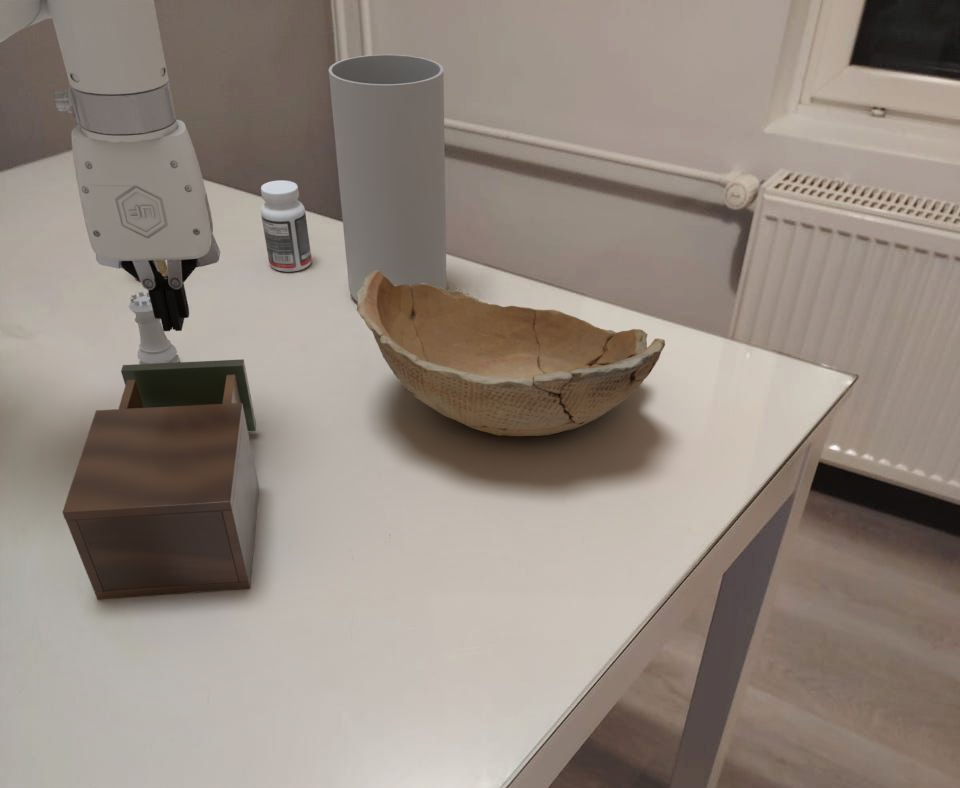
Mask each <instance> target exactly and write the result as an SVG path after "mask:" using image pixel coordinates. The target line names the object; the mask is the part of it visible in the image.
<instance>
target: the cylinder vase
mask: <svg viewBox="0 0 960 788" xmlns="http://www.w3.org/2000/svg"><path fill="white" fill-rule="evenodd" d="M444 74H445V73H444V66H443V65H441V64H440V63H439V62H437V61H434V60H432V59H429V58H426V57H420V56H414V55H408V54H407V55H406V54H369V55H360V56H354V57H349V58H345V59H342V60H339V61H336V62H334V63H332V64H331V65H330V66H329V67H328V79H329V89H330V91H329V92H330V101H331V109H332V119H333V121H332V122H333V132H334V143H335V154H336V164H337V165H336V166H337V175H338V186H339V196H340V206H341V216H342V217H341V218H342V227H343V238H344V248H345V249H344V250H345V260H346V271H347V282H348V291H349V293H350V296H352V298H353V300H355V301H356V302H357V303H358V299H357V292H358V291H359V289H360V286H361V284H362V283H364V279H365V277H366V276H367V275H368V274H369V273H371V272H373V271H375V270H379V271H380V272H381V273H382V275H383V276H384V277H386V278H388V280H389V281H390V282H391V283H392V284H393V285H402V284H405V285H409V286H411V285H416V284H421V283H428V284H429V285H431V286H434V287H439V288H444V289H447V282H448V281H447V225H446V224H447V223H446V222H447V219H446V218H447V217H446V215H447V214H446V213H447V212H446V156H445V155H446V151H445V89H444V88H445V85H444V84H445V83H444V82H445V78H444V77H445V76H444Z"/></svg>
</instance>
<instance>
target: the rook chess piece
mask: <svg viewBox="0 0 960 788" xmlns="http://www.w3.org/2000/svg"><path fill="white" fill-rule="evenodd" d="M137 294H138V296H137ZM130 296H131V297H130V298H129V299H130V303H129V305H128V308H129V310H130V311H131V312H132V313H134V315H135V318H134V322H135V323H136V324H137V326H138V331H139V338H140V339H139V340H140V341H139V345H138V350H137V358H138V360H139V362H138V364H156V363H177V362H179V361H180V357H179V355H178V354H177V353H178V350H177V348H176V346H175V345H174V344H173V343H172V342H171V340H170V339H168V337H167V335H166V333H165V331H164V330H163V326H162V322H161V319H155V317H154V313H153V309H152V304H151V300H150V296H149V292H148V290H147V291H146V295H145V294H144V291H138V292H137V293H132V294H131V295H130Z"/></svg>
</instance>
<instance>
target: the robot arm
mask: <svg viewBox="0 0 960 788" xmlns="http://www.w3.org/2000/svg"><path fill="white" fill-rule="evenodd" d="M49 19H51V20H52V22H53V27H54V32H55V34H56V38H57V41H58V45H59V50H60V53H61V57H62V60H63V64H64V68H65V71H66V76H67V79H68V83H69V85H68V87H67V89H63V91H54V93H53V99H54V104H55V107H56V110H57V111H58V112H67V113H68V114H72V116H73V117H74V118H75V121H76V125H75V127H74V128H72V130H71V131H70V135H71V149H72V157H73V166H74V172H75V179H76V183H77V189H78V195H79V199H80V200H79V201H80V204H81V210H82V214H83V219H84V224H85V228H86V232H87V236H88V241H89V243H90V246H91V248H92V251H93V252H94V254H95V260H96V262H97V264H98V265H100V266H104V267H110V268H115V269H122V270H124V271H125V272H127V274H129V275H130V276H132V277H133V278H134V279H136V280H137V281H139V282H140V284H141V286H142V287H143V289H145V290H147V291H148V292H149V296H150V300H151V304H152V309H153V313H154V317H155V319H160V322H161V326H162V328H163V331H164V332H171V331H172V330H174V331H175V332H181V331H182V330H183V325H184V322H185V319H189V318H190V307H189V303H188V298H187V292H186V287H185V284H184V283H185V282H186V281H187V279H188V278H189V277H190V276H191V275H192V274H193V272H194V271H195V269H196V268H199V267H200V268H202V267H205V266H206V267H207V266H209V265H213V264H217V263H219V261H220V256H221V250H220V248H219V245H218V243H217V241H216V238H215V236H214V224H213V217H212V211H211V207H210V202H209V197H208V193H207V190H206V185H205V182H204V178H203V174H202V171H201V167H200V163H199V160H198V156H197V153H196V150H195V147H194V144H193V141H192V139H191V136H190V133H189V131H188V128H187V126H186V123H185V122H184V121H183V120H181V119H177V116H176V110H175V105H174V100H173V95H172V90H171V84H170V79H169V73H168V69H167V64H166V59H165V53H164V48H163V43H162V37H161V31H160V27H159V22H158V16H157V9H156V6H155V0H0V43H3V42H4V41H6V40H7V39H9V38H10V37H11V36H13V35H15V34H16V33H18V32H19V31H21V30H23V29H26V28H28V27H31V26H34V25H36V24H38V23H40V22H42V21H45V20H49ZM155 260H165V261H166V266H167V268H168V275H167V276H166V277H164V276H162V274H161V273H160V272H159V269H158V266H157V264H156V261H155Z"/></svg>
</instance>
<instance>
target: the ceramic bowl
mask: <svg viewBox="0 0 960 788" xmlns="http://www.w3.org/2000/svg"><path fill="white" fill-rule="evenodd" d="M357 299H358V302H357V305H356V311H357V313H358V315H359V316H360V318H361V319H363V321H364V323H365V325H366V327H367V328H368V330H370V331H371V332H372V334H373V337H374V340H375V342H376V343H377V346H378V349H379V351H380V353H381V355H382V357H383V359H384V361H385V362H386V364H387V365H388V367H389V368H390V370H391V372H392V373H393V374H394V376H395V377H396V378H397V380H399V381H400V382H401V384H402V386H403V387H404V388H405V389H407V390H408V391H409V392H410V393H411V394H413V396H414V398H416V399H417V400H419V401H420V402H422V403H423V404H425V405H426V406H428V407H429V408H431V409H433V410H434V411H436V412H437V413H439V414H440V415H442V416H444V417H446V418H448V419H451V420H454V421H456V422H458V423H460V424H462V425H465V426H467V427H468V428H471V429H474V430H477V431H480V432H483V433H488V434H491V435H495V436H499V437H501V436H507V437H541V436H550V435H555V434H559V433H561V432H565V431H571V430H575V429H578V428H580V427H582V426H584V425H587V424H589V423H591V422H593V421H595V420H598V419H599V418H600V417H601V418H602V416H603V415H604V414H606V413H608V412H609V411H611V410H612V409H614V408H615V407H617V406H619V405H620V404H622V403H623V402H624V401H625V400H626V399H627V398H628V397H629V396H630V395H631V394H632V393H634V392H635V391H636V390H637V388H639V386H640V385H641V384H642V383H644V381H645V380H646V379H647V378H648V376H649V375H650V374H651V372H652V371H653V369H654V368H655V366H656V364H657V362H658V361H659V359H660V357H661V354H662V352H663V350H664V348H665V346H666V340H665V339H663V338H654V339H653V341H652V342H651V343H650V344H649V346H648V345H647V344H648V342H647V338H648V333H647V332H645V330H643V329H640V328H639V329H638V328H632V329H629V330H621V331H617V332H616V331H614V330H612V329H604V328H600V327H598V326H595V325H593V324H592V323H589V322H588V321H587V320H583V319H580V318H578V317H576V316H573V315H570V314H567V313H564V312H562V311H560V310H556V309H553V308H552V309H535V308H532V307H526V306H525V307H524V306H517V305H508V306H501V305H499V304H494V303H493V304H491V303H487V302H484V301H482V300H480V299H478V298H476V297H474V296H471V295H467V294H465V293H464V292H462V291H461V290H460V289H453V290H451V289H447V288H446V289H444V288H439V287H434V286H431V285H429V284H428V283H421V284H416V285H411V286H409V285H405V284H402V285H393V284H392V283H391V282H390V281H389V280H388V278H386V277H384V276H383V275H382V273H381V272H380V271H379V270H375V271H373V272H371V273H369V274H368V275H367V276H366V277H365V279H364V283H362V284H361V286H360V289H359V291H358V292H357Z"/></svg>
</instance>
